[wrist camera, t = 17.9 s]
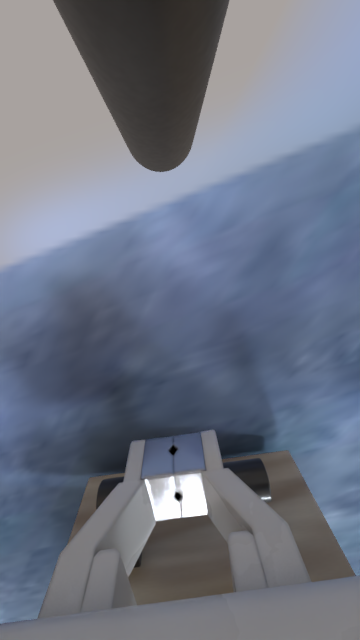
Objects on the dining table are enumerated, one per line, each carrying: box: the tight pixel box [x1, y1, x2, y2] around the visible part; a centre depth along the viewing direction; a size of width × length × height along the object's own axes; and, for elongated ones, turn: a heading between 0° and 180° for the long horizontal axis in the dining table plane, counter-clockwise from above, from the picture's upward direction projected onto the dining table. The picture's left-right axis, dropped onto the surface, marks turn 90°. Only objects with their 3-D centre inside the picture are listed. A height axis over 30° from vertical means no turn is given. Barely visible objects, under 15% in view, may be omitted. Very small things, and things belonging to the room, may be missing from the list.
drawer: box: [67, 450, 356, 605], centre depth 13 cm, size 17×11×7 cm
